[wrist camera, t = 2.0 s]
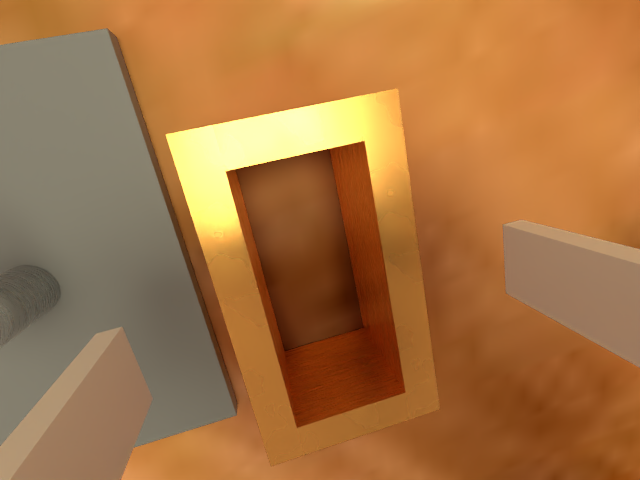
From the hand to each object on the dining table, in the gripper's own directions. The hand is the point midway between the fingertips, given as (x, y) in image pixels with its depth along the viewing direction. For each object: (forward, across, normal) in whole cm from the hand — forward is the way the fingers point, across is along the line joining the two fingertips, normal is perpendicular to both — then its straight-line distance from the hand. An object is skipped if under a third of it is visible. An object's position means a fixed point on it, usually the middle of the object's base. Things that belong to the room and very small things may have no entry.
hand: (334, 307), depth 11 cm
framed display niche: (+8, 0, +1) cm, 8 cm away
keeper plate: (+8, +13, -2) cm, 15 cm away
